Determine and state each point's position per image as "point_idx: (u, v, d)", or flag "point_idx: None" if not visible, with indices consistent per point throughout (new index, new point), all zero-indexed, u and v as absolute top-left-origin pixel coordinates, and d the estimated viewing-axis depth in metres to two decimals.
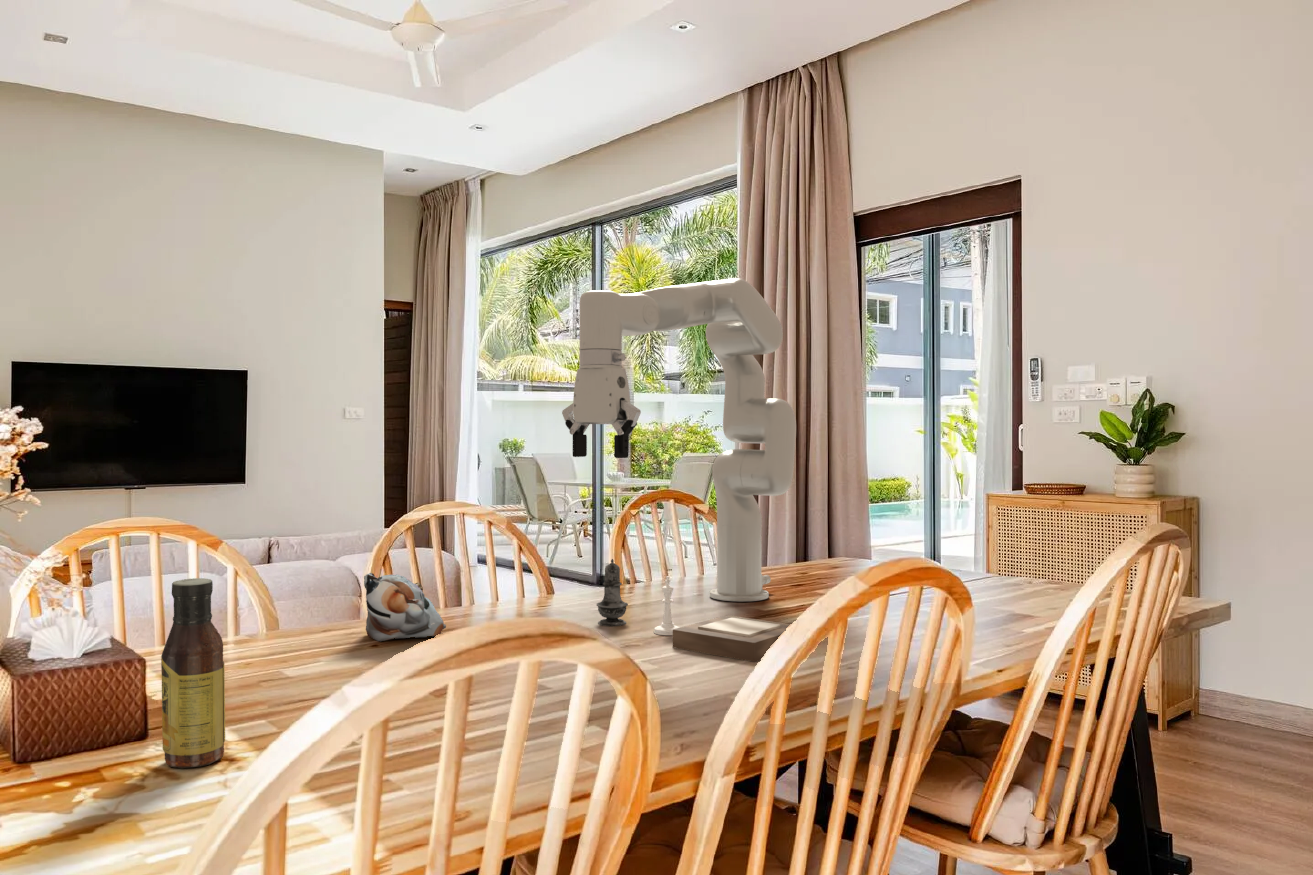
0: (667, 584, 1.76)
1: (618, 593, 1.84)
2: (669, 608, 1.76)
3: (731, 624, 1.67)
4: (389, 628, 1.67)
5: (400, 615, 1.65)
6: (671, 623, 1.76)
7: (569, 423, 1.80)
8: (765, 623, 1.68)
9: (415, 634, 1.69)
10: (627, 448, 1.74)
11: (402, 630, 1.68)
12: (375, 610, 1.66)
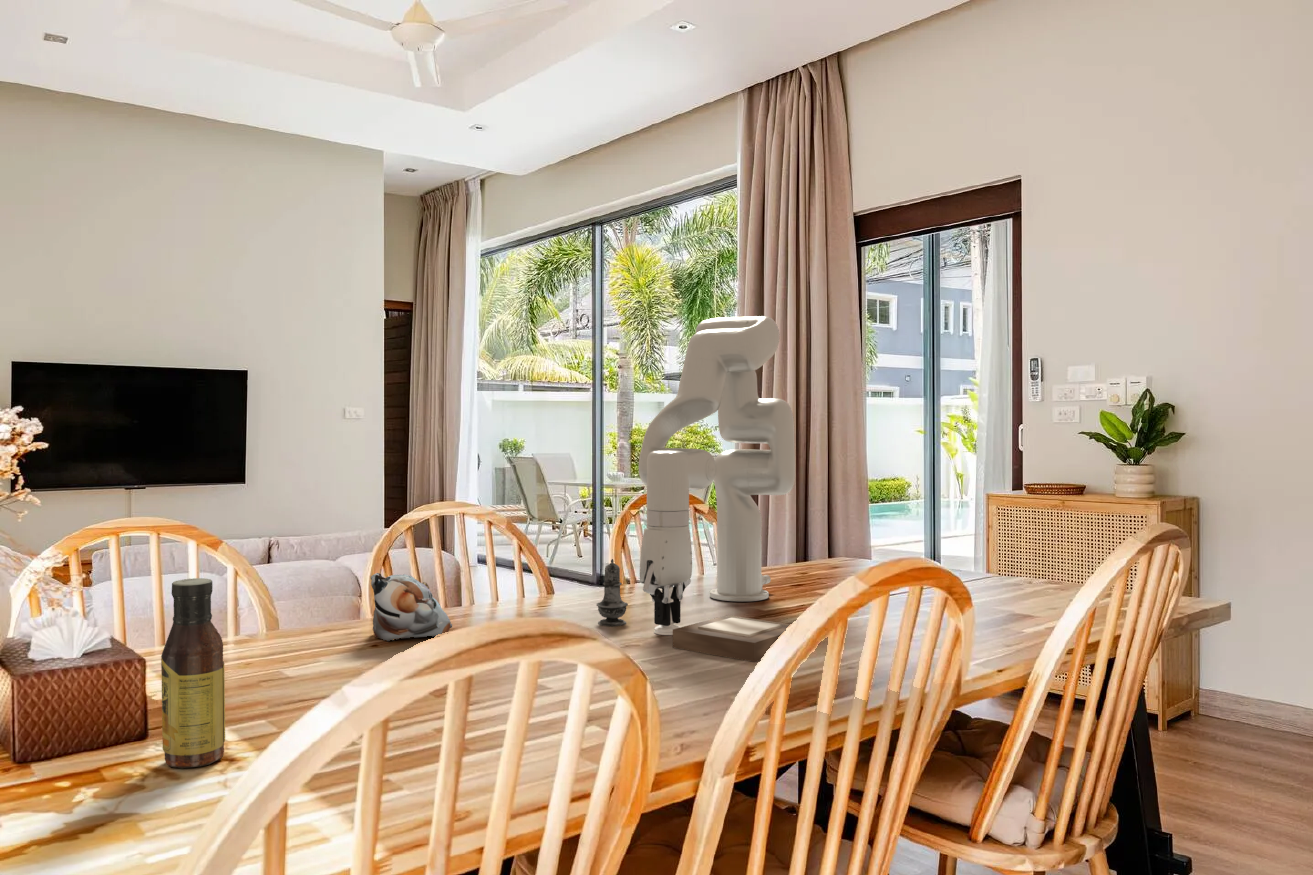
0: None
1: (618, 593, 1.84)
2: None
3: (731, 624, 1.67)
4: (398, 628, 1.67)
5: (410, 615, 1.66)
6: (671, 623, 1.76)
7: (660, 592, 1.74)
8: (765, 623, 1.68)
9: (423, 633, 1.70)
10: None
11: (411, 630, 1.68)
12: (384, 610, 1.66)
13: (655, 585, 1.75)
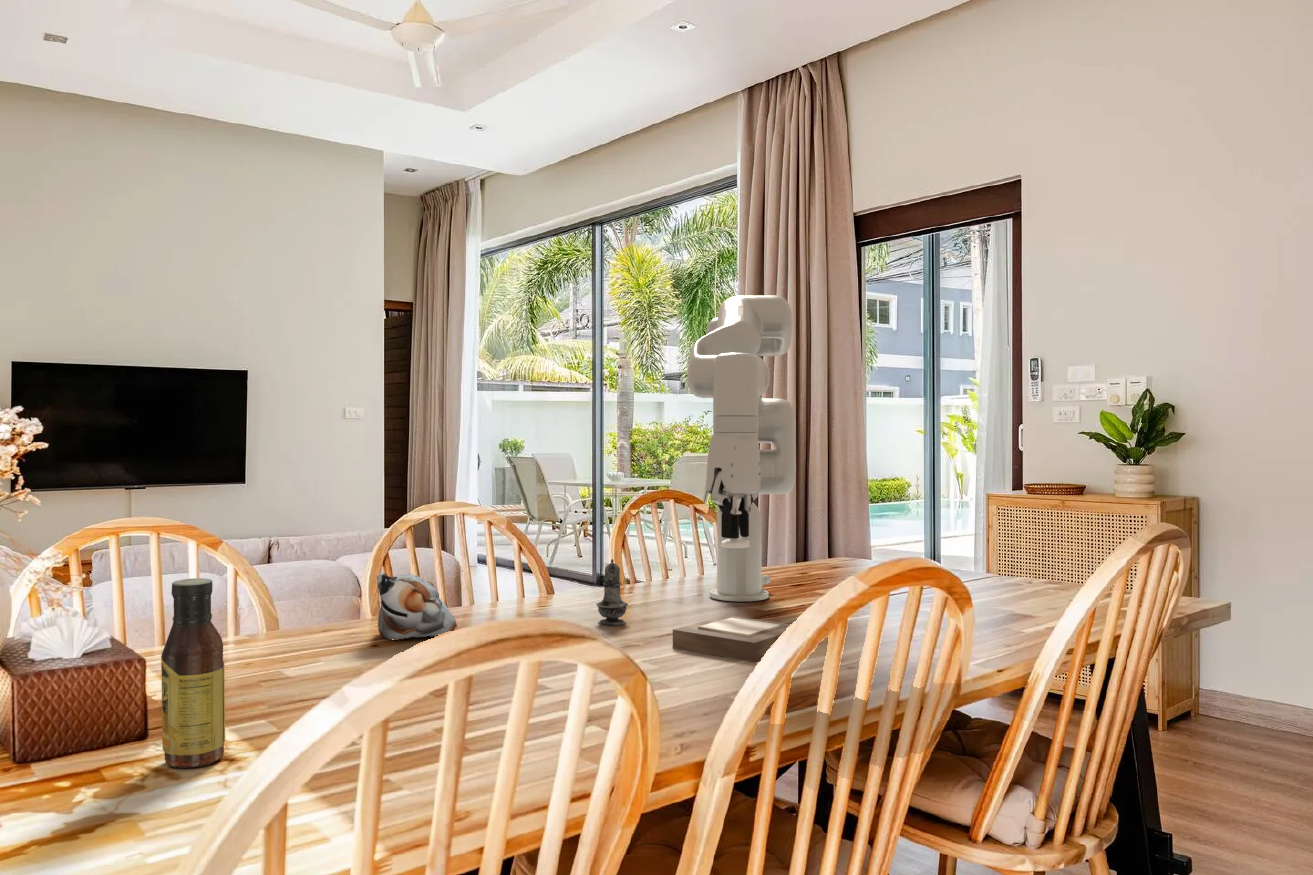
0: None
1: (618, 593, 1.84)
2: None
3: (731, 624, 1.67)
4: (405, 627, 1.67)
5: (417, 615, 1.66)
6: (739, 536, 1.66)
7: (728, 502, 1.64)
8: (765, 623, 1.68)
9: (430, 633, 1.70)
10: None
11: (418, 630, 1.68)
12: (391, 610, 1.66)
13: (723, 495, 1.65)
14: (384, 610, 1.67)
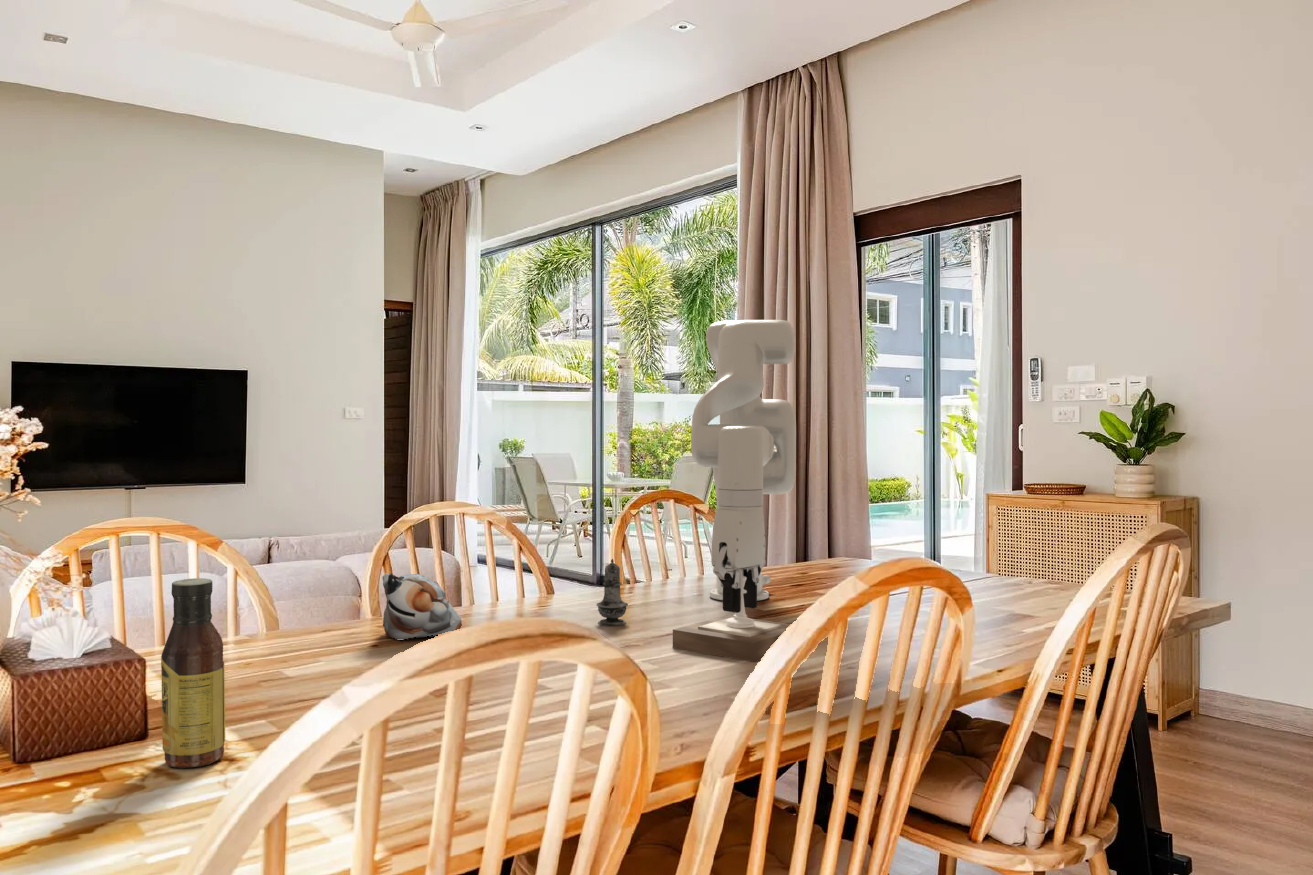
0: (740, 574, 1.66)
1: (618, 593, 1.84)
2: (742, 599, 1.66)
3: None
4: (412, 627, 1.68)
5: (425, 614, 1.67)
6: (744, 615, 1.66)
7: (730, 577, 1.62)
8: (765, 623, 1.68)
9: (436, 632, 1.71)
10: None
11: (425, 629, 1.69)
12: (398, 610, 1.66)
13: (726, 568, 1.64)
14: (391, 610, 1.67)
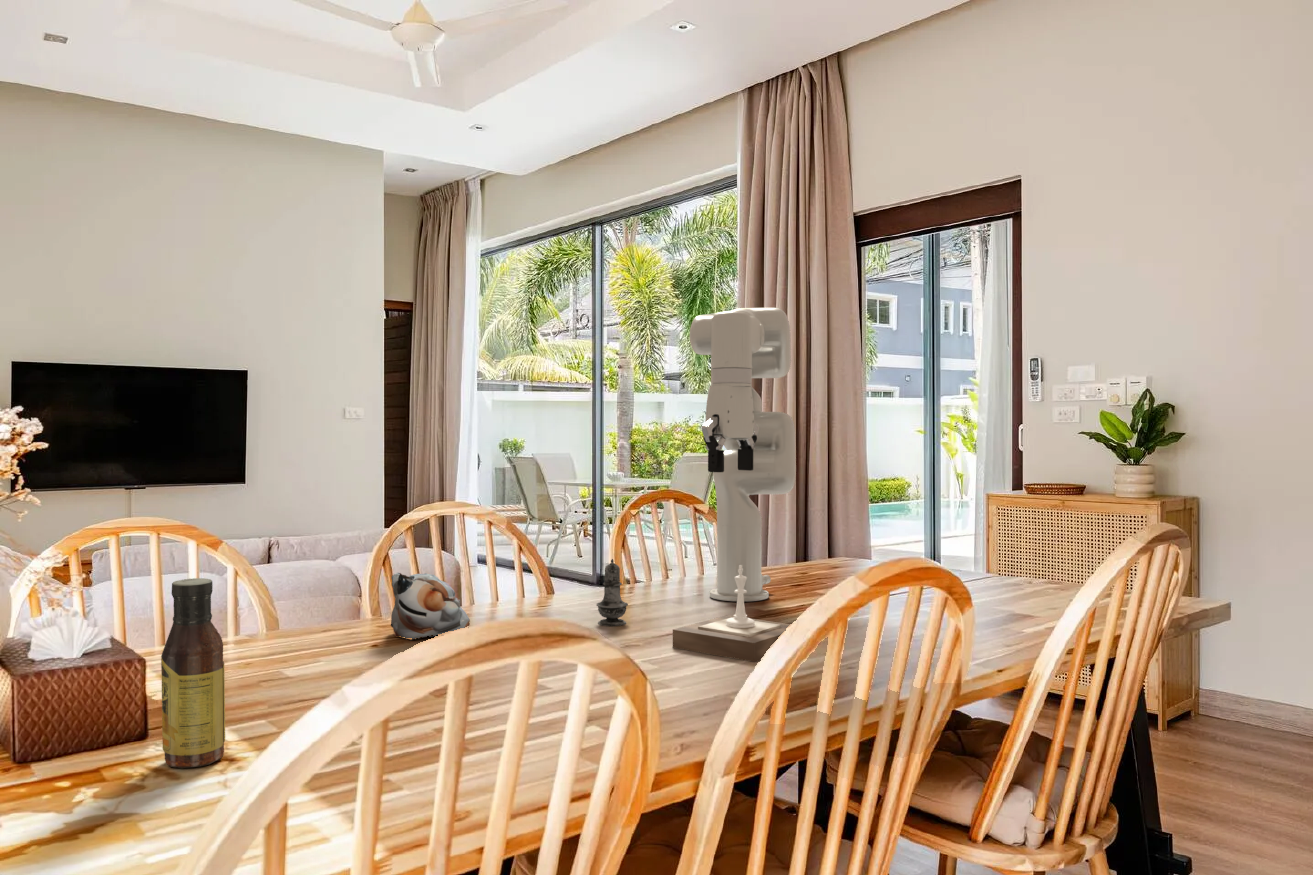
0: (740, 574, 1.66)
1: (618, 593, 1.84)
2: (742, 599, 1.66)
3: None
4: (423, 626, 1.68)
5: (436, 613, 1.67)
6: (744, 615, 1.66)
7: (714, 439, 1.79)
8: (765, 623, 1.68)
9: None
10: None
11: (435, 628, 1.69)
12: (410, 609, 1.67)
13: (714, 434, 1.82)
14: (402, 609, 1.67)
